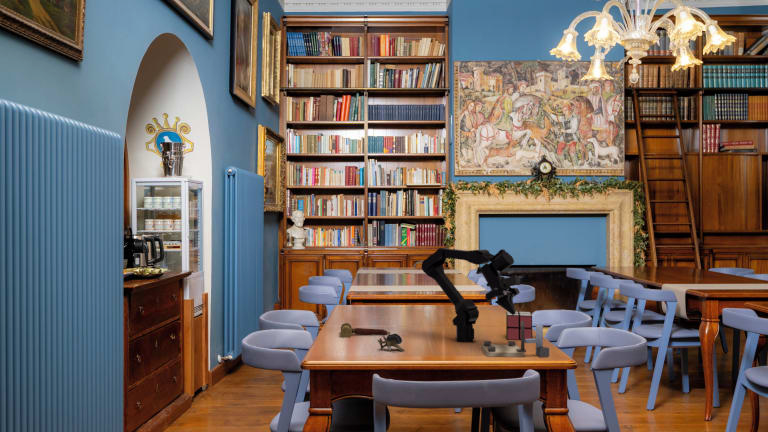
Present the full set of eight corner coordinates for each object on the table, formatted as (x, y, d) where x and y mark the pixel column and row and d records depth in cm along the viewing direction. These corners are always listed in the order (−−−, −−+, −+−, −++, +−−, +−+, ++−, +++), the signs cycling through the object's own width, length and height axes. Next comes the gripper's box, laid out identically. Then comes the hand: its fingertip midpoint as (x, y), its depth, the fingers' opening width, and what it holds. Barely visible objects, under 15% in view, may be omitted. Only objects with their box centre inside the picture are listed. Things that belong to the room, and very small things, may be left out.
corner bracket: (537, 355, 194) (537, 347, 194) (546, 355, 195) (546, 346, 195) (539, 357, 192) (539, 348, 192) (549, 356, 193) (549, 348, 193)
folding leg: (527, 355, 193) (526, 326, 193) (523, 353, 196) (523, 325, 196) (544, 354, 195) (544, 326, 195) (540, 352, 197) (540, 324, 197)
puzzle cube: (532, 341, 219) (532, 315, 220) (506, 339, 221) (506, 314, 222) (530, 336, 229) (530, 312, 229) (506, 335, 231) (506, 311, 231)
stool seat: (487, 356, 192) (487, 322, 193) (481, 348, 205) (481, 316, 206) (526, 357, 192) (526, 322, 192) (518, 348, 205) (518, 316, 205)
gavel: (389, 325, 236) (391, 329, 226) (389, 336, 236) (391, 340, 226) (341, 322, 235) (340, 326, 225) (340, 333, 235) (340, 338, 225)
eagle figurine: (378, 350, 197) (402, 346, 196) (376, 331, 202) (400, 327, 200) (382, 357, 204) (406, 353, 202) (381, 339, 208) (404, 335, 206)
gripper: (499, 266, 200) (521, 303, 194) (519, 267, 215) (541, 302, 208) (475, 282, 205) (496, 319, 198) (497, 282, 220) (517, 317, 213)
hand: (514, 314), depth 204 cm, fingers closed
